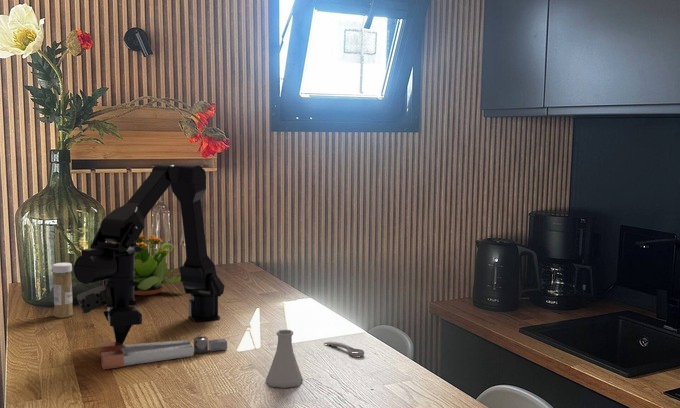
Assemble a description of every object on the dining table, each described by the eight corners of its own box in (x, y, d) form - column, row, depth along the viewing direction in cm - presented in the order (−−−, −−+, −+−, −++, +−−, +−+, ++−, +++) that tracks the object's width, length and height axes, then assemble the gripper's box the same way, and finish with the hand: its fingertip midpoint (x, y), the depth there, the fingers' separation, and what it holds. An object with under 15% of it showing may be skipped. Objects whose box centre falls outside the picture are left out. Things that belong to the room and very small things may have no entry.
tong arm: (206, 346, 147) (206, 334, 147) (208, 353, 143) (208, 340, 143) (101, 354, 141) (100, 341, 140) (100, 361, 137) (99, 348, 137)
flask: (266, 375, 132) (266, 326, 131) (302, 374, 132) (303, 326, 131) (265, 389, 125) (265, 337, 124) (303, 389, 125) (304, 337, 124)
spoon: (357, 360, 142) (357, 351, 142) (321, 349, 151) (321, 341, 151) (367, 357, 144) (367, 348, 144) (331, 347, 153) (331, 338, 153)
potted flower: (202, 285, 204) (202, 229, 202) (170, 305, 181) (169, 242, 179) (126, 280, 208) (125, 225, 206) (85, 299, 185) (83, 237, 183)
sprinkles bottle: (74, 316, 169) (73, 264, 167) (55, 319, 166) (54, 266, 165) (71, 312, 172) (69, 261, 171) (52, 314, 170) (50, 263, 168)
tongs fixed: (224, 346, 148) (224, 335, 147) (229, 351, 144) (229, 339, 144) (100, 363, 136) (100, 351, 135) (103, 369, 132) (102, 356, 132)
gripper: (75, 267, 145) (75, 336, 147) (84, 287, 129) (83, 365, 131) (128, 264, 150) (127, 331, 152) (143, 284, 134) (141, 359, 136)
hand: (119, 346), depth 143 cm, fingers closed
